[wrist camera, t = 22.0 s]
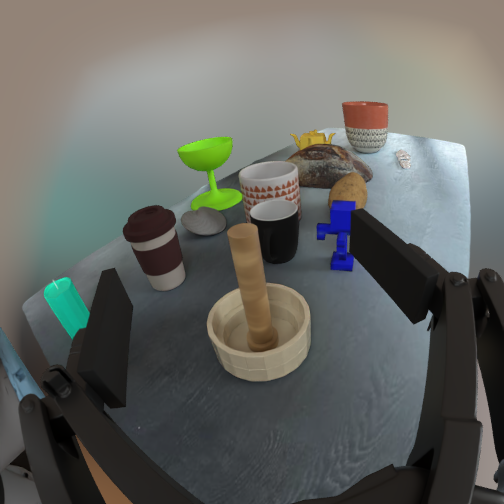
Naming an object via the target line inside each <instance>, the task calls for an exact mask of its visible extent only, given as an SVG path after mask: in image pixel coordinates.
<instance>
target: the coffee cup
mask: <svg viewBox="0 0 504 504" xmlns="http://www.w3.org/2000/svg"><path fill="white" fill-rule="evenodd" d="M175 223H176V218H175V215H174V212H172V211H171V210H168V209H164V208H163V207H162V206H159V205H158V206H157V205H154V206H148V207H145V208H142V209H140V210H138V211H136V212H135V213H133V214H132V215H131V216H130V217H129V218H128V223H127V224H126V225H125V226H124V228H123V234H124V237H125V239H126V240H127V241H128V242H131V245H132V249H133V252H134V254H135V256H136V258H137V260H138V262H139V264H140V266H141V268H142V270H143V272H144V273H145V274H146V275H147V277H148V279H149V281H150V283H151V285H152V287H153V288H154V289H156V290H158V291H168V290H172V289H174V288H176V287H178V286H179V285H180V284H181V283H182V282H183V281H184V279H185V270H184V266H183V262H182V253H181V249H180V245H179V240H178V236H177V232H176V230H175V228H174V225H175Z"/></svg>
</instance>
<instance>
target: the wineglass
mask: <svg viewBox="0 0 504 504" xmlns="http://www.w3.org/2000/svg"><path fill="white" fill-rule="evenodd" d="M232 147H233V146H232V138H231V137H216V138H209V139H204V140H200V141H196V142H192V143H189V144H187V145H184V146H182V147H181V148H179V149H178V150H177V151H178V154H179V157H180V158H181V160H182V161H183V162H184V164H186V165H187V166H188V167H190V168H192V169H195V170H197V171H207V174H208V179H209V184H210V188H211V191H208V192H205V193H203V194H201V195H199V196H197V197H196V198H195V199H194V200H193V201H192V203H191V209H192V210H198V208H200V207H203V206H205V207H210V208H214V209H216V210H218V211H220V210H223V209H227V208H229V207H232V206H234V205H235V204H237V203H238V202H240V201H241V199H242V194H241V193H240V192H239V191H237V190H235V189H228V188H224V189H217V186H216V181H215V177H214V172H213V170H214V169H216V168H218V167H220V166H221V165H222V164H224V163H225V161H226V160H227V159H228V158H229V156H230V154H231V150H232Z"/></svg>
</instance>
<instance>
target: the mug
mask: <svg viewBox="0 0 504 504" xmlns="http://www.w3.org/2000/svg"><path fill="white" fill-rule="evenodd" d="M250 220H251V224H254V225H256V226H257V228H258V235H259V241H260V248H261V254H262V257H263V258H264V259H265V260H266V261H267V262H270V263H274V264H280V263H285V262H287V261H289V260H291V259H292V258H293V257H294V255H295V253H296V250H297V245H298V234H299V215H298V207H297V205H296V204H295V203H293V202H291V201H288V200H269V201H264V202H261V203H259V204H257V205H255V206H254V207H252V208H251V210H250Z"/></svg>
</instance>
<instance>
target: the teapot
mask: <svg viewBox="0 0 504 504" xmlns="http://www.w3.org/2000/svg"><path fill="white" fill-rule="evenodd" d="M334 134H336V133H332V134H330V135H329V139H328V141H327V142H326V137H325V134H324V133H317V130H314V131H310V133H304V134H303V135H302V136H301V137H300V141H299V140H298V138H297V136H296V135H294V134H290V135H292V136H293V137H294V139H295V142H296V145H297V146H298V147H299V148H300V150H302V149H304V148H306V147H308V146H310V145H314V144H331V140H332V136H333V135H334Z"/></svg>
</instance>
